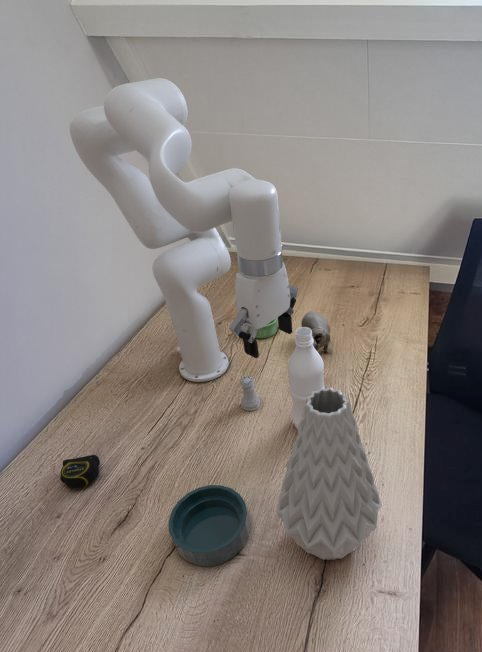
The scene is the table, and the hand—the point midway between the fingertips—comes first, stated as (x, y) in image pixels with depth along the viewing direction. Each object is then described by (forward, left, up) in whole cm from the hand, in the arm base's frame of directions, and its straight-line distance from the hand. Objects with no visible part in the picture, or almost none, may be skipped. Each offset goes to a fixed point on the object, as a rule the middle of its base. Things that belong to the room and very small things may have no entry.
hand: (269, 342), depth 89 cm
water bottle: (+7, +2, -21) cm, 22 cm away
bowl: (+10, -29, -21) cm, 37 cm away
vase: (+27, -17, -21) cm, 38 cm away
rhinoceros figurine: (-9, +24, -21) cm, 33 cm away
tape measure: (-21, -37, -21) cm, 47 cm away
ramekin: (-27, +23, -21) cm, 41 cm away
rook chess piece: (-8, -1, -21) cm, 22 cm away
